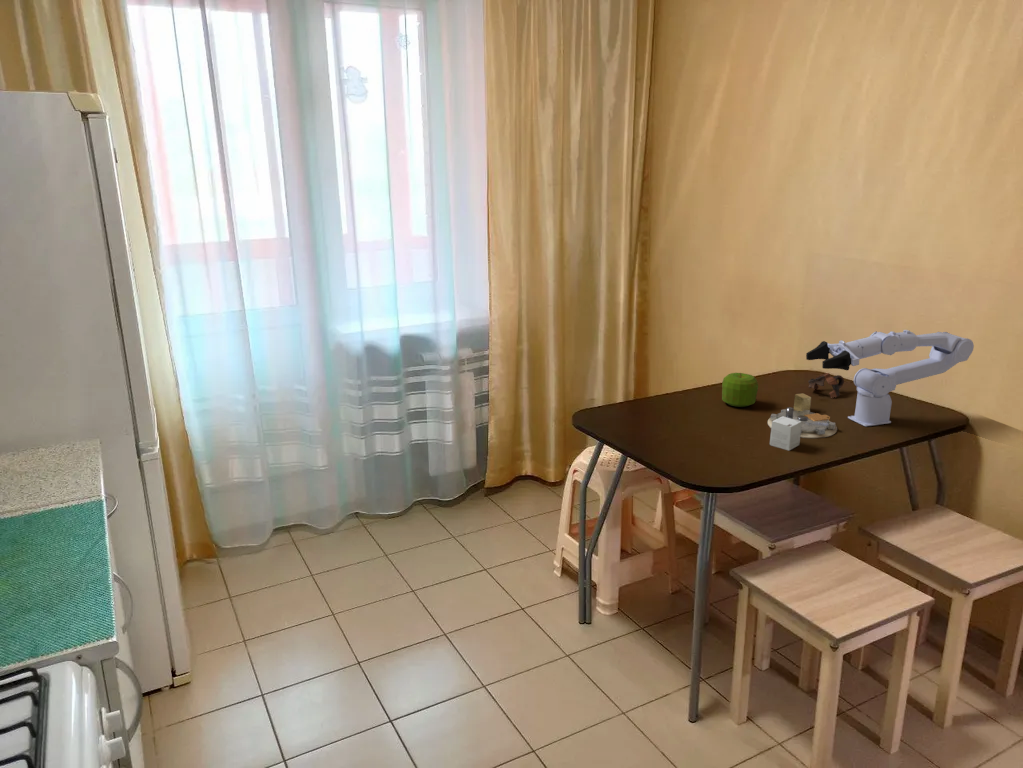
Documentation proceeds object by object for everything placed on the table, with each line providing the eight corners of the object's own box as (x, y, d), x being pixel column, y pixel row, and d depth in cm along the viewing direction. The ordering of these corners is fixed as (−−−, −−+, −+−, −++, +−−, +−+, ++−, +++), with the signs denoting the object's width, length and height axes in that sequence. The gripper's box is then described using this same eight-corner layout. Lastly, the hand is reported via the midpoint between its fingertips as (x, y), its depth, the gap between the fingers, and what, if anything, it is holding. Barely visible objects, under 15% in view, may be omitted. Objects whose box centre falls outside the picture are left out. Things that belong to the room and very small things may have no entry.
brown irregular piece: (826, 402, 246) (816, 379, 247) (809, 405, 255) (799, 383, 256) (855, 388, 249) (844, 366, 250) (837, 392, 258) (827, 371, 259)
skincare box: (779, 439, 215) (782, 415, 213) (799, 445, 211) (802, 420, 208) (769, 445, 211) (771, 420, 209) (789, 451, 207) (791, 426, 205)
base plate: (808, 411, 236) (808, 410, 236) (851, 433, 218) (852, 432, 218) (754, 418, 231) (754, 417, 231) (794, 441, 213) (794, 440, 213)
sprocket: (808, 410, 235) (810, 394, 233) (847, 430, 219) (850, 412, 217) (758, 417, 230) (759, 400, 229) (795, 438, 214) (797, 420, 212)
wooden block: (793, 409, 239) (795, 394, 237) (801, 408, 240) (803, 393, 238) (801, 413, 235) (803, 398, 234) (809, 412, 236) (811, 397, 234)
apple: (723, 409, 239) (725, 377, 236) (718, 398, 250) (720, 367, 246) (759, 410, 238) (762, 378, 235) (752, 399, 248) (755, 368, 245)
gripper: (840, 330, 224) (800, 340, 222) (873, 344, 211) (830, 355, 209) (840, 352, 227) (800, 362, 224) (872, 367, 214) (830, 378, 211)
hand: (814, 360), depth 217 cm, fingers open, 7 cm apart
